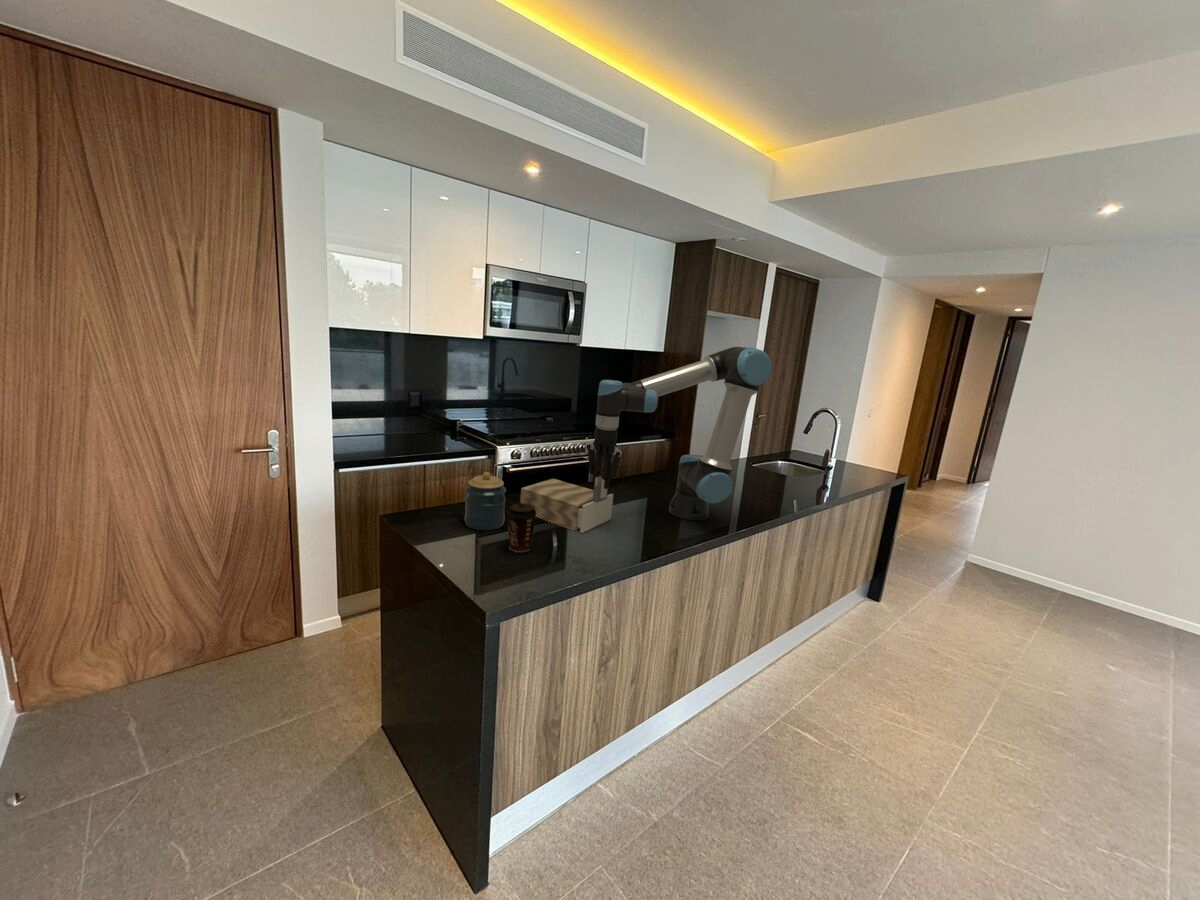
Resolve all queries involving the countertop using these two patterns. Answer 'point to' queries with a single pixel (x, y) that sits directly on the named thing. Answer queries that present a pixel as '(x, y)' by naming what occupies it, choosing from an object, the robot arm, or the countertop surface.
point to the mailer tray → (594, 511)
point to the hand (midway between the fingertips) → (600, 496)
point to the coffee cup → (521, 526)
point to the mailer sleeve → (557, 501)
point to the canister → (485, 503)
